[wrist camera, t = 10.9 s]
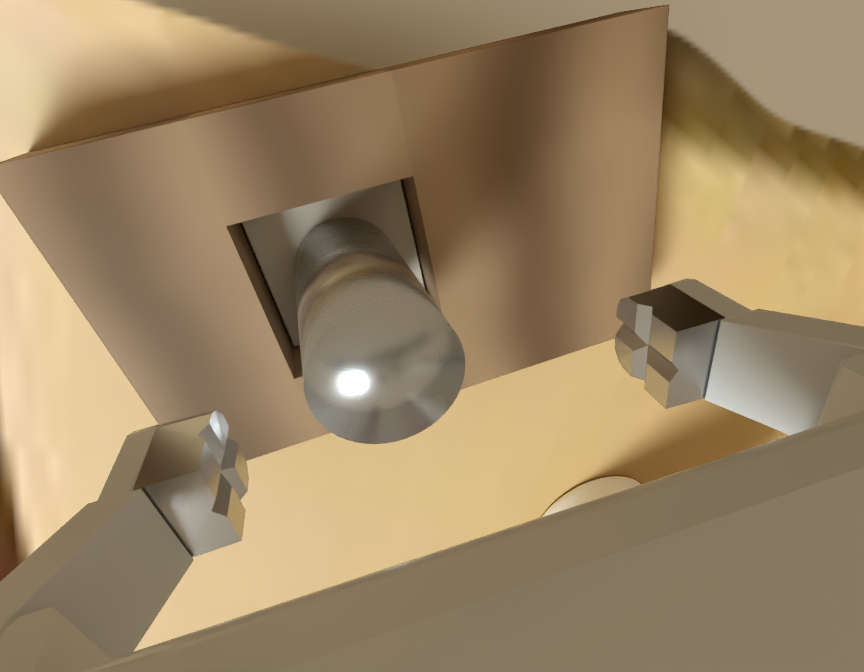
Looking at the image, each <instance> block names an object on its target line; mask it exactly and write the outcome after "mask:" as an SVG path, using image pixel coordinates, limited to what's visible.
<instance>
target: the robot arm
mask: <svg viewBox="0 0 864 672" xmlns="http://www.w3.org/2000/svg"><path fill="white" fill-rule="evenodd" d="M616 317H617V319H618V320H619V321H620V322H621V323H622V326H621V327H620V329H619V330H618V332H617V333H616V335H615V350H616V354H617V357H618V360H619V362H620V364H621V365H622V367H623V368H624V370H625V371H626V372H627V373H628V374H629V375H630V376H632V377H635V378H639V379H642V380H645V385H644V389H645V390H646V391H647V392H648V393H649V394H650V395H651V396H652V397H654V398H655V399H656V400H657V401H658V402H659V403H660V404H661V405H662V406H663V407H664V408H665V409H667V408H670V407H674V406H678V405H681V404H685V403H688V402H692V401H695V400H699V399H703V398H705V400H706V401H709V402H711V403H714V404H716V405H718V406H721V407H723V408H726V409H728V410H730V411H733V412H735V413H738V414H740V415H742V416H745V417H747V418H750V419H752V420H754V421H757V422H759V423H762V424H764V425H766V426H769V427H771V428H774V429H776V430H778V431H781V432H783V433H786V434H788V435H789V436H786V437H783V438H780V439H777V440H774V441H771V442H768V443H765V444H762V445H759V446H756V447H753V448H750V449H747V450H744V451H741V452H738V453H735V454H732V455H729V456H726V457H723V458H720V459H717V460H714V461H711V462H708V463H705V464H702V465H699V466H695V467H692V468H689V469H686V470H683V471H680V472H677V473H674V474H671V475H668V476H665V477H662V478H659V479H656V480H653V481H650V482H647V483H644V484H641V485H638V486H635V487H632V488H629V489H626V490H622V491H619V492H616V493H613V494H610V495H607V496H604V497H601V498H598V499H595V500H592V501H589V502H586V503H583V504H580V505H577V506H574V507H571V508H568V509H565V510H562V511H559V512H556V513H553V514H550V515H547V516H544V517H541V518H538V519H535V520H532V521H529V522H526V523H522V524H519V525H516V526H513V527H510V528H507V529H504V530H501V531H498V532H495V533H492V534H489V535H486V536H483V537H480V538H477V539H474V540H471V541H468V542H465V543H462V544H459V545H456V546H453V547H450V548H447V549H444V550H441V551H438V552H435V553H432V554H429V555H426V556H423V557H420V558H417V559H414V560H411V561H408V562H404V563H401V564H398V565H395V566H392V567H389V568H386V569H383V570H380V571H377V572H374V573H371V574H368V575H365V576H362V577H359V578H356V579H353V580H350V581H347V582H344V583H341V584H338V585H335V586H332V587H329V588H326V589H323V590H320V591H317V592H314V593H311V594H308V595H305V596H302V597H298V598H295V599H292V600H289V601H286V602H283V603H280V604H277V605H274V606H271V607H268V608H265V609H262V610H259V611H256V612H253V613H250V614H247V615H244V616H241V617H238V618H235V619H232V620H229V621H226V622H223V623H220V624H217V625H214V626H211V627H208V628H205V629H202V630H199V631H196V632H193V633H189V634H186V635H183V636H180V637H177V638H174V639H171V640H168V641H165V642H162V643H159V644H156V645H153V646H150V647H147V648H144V649H141V650H138V651H135V652H133V651H134V650H135V648H136V647H137V645H138V644H139V642H140V641H141V639H142V637H143V636H144V634H145V633H146V631H147V630H148V628H149V627H150V625H151V624H152V622H153V621H154V619H155V618H156V616H157V615H158V613H159V612H160V610H161V609H162V607H163V606H164V604H165V603H166V601H167V599H168V598H169V596H170V595H171V593H172V592H173V590H174V589H175V587H176V586H177V584H178V583H179V581H180V580H181V578H182V577H183V575H184V574H185V572H186V571H187V569H188V568H189V566H190V564H191V563H192V561H193V558H192V557H195V556H198V555H201V554H204V553H207V552H210V551H213V550H216V549H219V548H222V547H224V546H227V545H230V544H233V543H236V542H239V541H242V535H243V526H244V518H245V508H244V507H243V505H242V503H241V501H240V500H241V498H242V497H243V496H244V495H245V493H246V492H247V491H248V480H249V477H248V469H247V463H246V460H245V457H244V454H243V451H242V449H241V448H240V446H239V444H238V443H237V442H235V441H233V440H231V439H229V438H227V435H228V429H229V425H228V423H227V422H226V420H225V418H224V416H223V415H222V413H221V412H219V411H217V410H214V411H210V412H206V413H202V414H198V415H194V416H190V417H187V418H183V419H179V420H175V421H171V422H167V423H163V424H161V425H155V426H152V427H148V428H144V429H141V430H137V431H134V432H132V433H131V434H129V435H127V437H126V439H125V441H124V443H123V446H122V448H121V450H120V452H119V454H118V457H117V459H116V461H115V463H114V465H113V468H112V470H111V472H110V474H109V476H108V479H107V481H106V483H105V485H104V488H103V490H102V492H101V494H100V496H99V499H98V501H96V502H92V503H89V504H87V505H86V506H85V507H84V508H83V509H81V510H80V511H79V512H78V513H77V514H76V515H75V516H74V517H72V518H71V519H70V520H69V521H68V522H67V523H66V524H65V525H64V526H62V527H61V528H60V529H59V530H58V531H57V532H56V533H55V534H53V535H52V536H51V537H50V538H49V539H48V540H47V541H46V542H44V543H43V544H42V545H41V546H40V547H39V548H38V549H37V550H36V551H34V552H33V553H32V554H31V555H30V556H29V557H28V558H27V559H25V560H24V561H23V562H22V563H21V564H20V565H19V566H18V567H16V568H15V569H14V570H13V571H12V572H11V573H10V574H9V575H8V576H6V577H5V578H4V579H3V580H2V581H1V582H0V672H864V327H862V326H856V325H851V324H845V323H839V322H833V321H827V320H821V319H815V318H809V317H803V316H798V315H792V314H786V313H780V312H774V311H768V310H762V309H757V310H753V311H751V310H750V309H748V308H746V307H744V306H742V305H740V304H739V303H737V302H735V301H733V300H731V299H730V298H728V297H726V296H724V295H722V294H721V293H719V292H717V291H715V290H713V289H712V288H710V287H708V286H706V285H704V284H703V283H701V282H699V281H697V280H695V279H684V280H681V281H677V282H674V283H671V284H668V285H665V286H663V287H659V288H656V289H653V290H649V291H646V292H642V293H639V294H636V295H632V296H629V297H625V298H622V299H620V301H619V303H618V305H617V314H616Z"/></svg>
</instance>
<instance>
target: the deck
mask: <svg viewBox="0 0 864 672" xmlns="http://www.w3.org/2000/svg"><path fill="white" fill-rule="evenodd" d="M668 14H669V5H663V6H657V7H650V8H643V9H637V10H630V11H624V12H619V13H614V14H611V15H607V16H602V17H598V18H593V19H589V20H585V21H581V22H577V23H573V24H568V25H564V26H560V27H556V28H551V29H548V30H543V31H539V32H534V33H530V34H526V35H522V36H518V37H513V38H510V39H505V40H501V41H497V42H492V43H488V44H484V45H480V46H475V47H471V48H467V49H463V50H459V51H454V52H451V53H446V54H442V55H438V56H433V57H429V58H425V59H421V60H416V61H412V62H408V63H404V64H400V65H396V66H391V67H387V68H383V69H378V70H374V71H370V72H366V73H362V74H357V75H353V76H349V77H345V78H341V79H336V80H332V81H328V82H324V83H319V84H315V85H311V86H307V87H303V88H298V89H294V90H290V91H286V92H282V93H277V94H273V95H269V96H265V97H260V98H256V99H252V100H248V101H244V102H239V103H235V104H231V105H227V106H223V107H218V108H214V109H210V110H206V111H201V112H197V113H193V114H189V115H185V116H180V117H176V118H172V119H168V120H164V121H159V122H155V123H151V124H147V125H142V126H138V127H134V128H130V129H126V130H121V131H117V132H113V133H109V134H105V135H100V136H96V137H92V138H88V139H83V140H79V141H75V142H71V143H67V144H62V145H58V146H54V147H50V148H46V149H41V150H37V151H33V152H29V153H25V154H22V155H19V156H17V157H14V158H11V159H8V160H5V161H2V162H0V194H1V195H2V197H3V198H4V200H5V201H6V203H7V204H8V206H9V207H10V208H11V210H12V211H13V213H14V214H15V216H16V217H17V219H18V220H19V222H20V223H21V225H22V226H23V227H24V229H25V230H26V232H27V233H28V235H29V236H30V238H31V239H32V241H33V242H34V243H35V245H36V246H37V248H38V249H39V251H40V252H41V254H42V255H43V257H44V258H45V259H46V261H47V262H48V264H49V265H50V267H51V268H52V270H53V271H54V273H55V274H56V275H57V277H58V278H59V280H60V281H61V283H62V284H63V286H64V287H65V289H66V290H67V291H68V293H69V294H70V296H71V297H72V299H73V300H74V302H75V303H76V305H77V306H78V307H79V309H80V310H81V312H82V313H83V315H84V316H85V318H86V319H87V321H88V322H89V323H90V325H91V326H92V328H93V329H94V331H95V332H96V334H97V335H98V337H99V338H100V339H101V341H102V342H103V344H104V345H105V347H106V348H107V350H108V351H109V353H110V354H111V356H112V357H113V358H114V360H115V361H116V363H117V364H118V366H119V367H120V369H121V370H122V372H123V373H124V374H125V376H126V377H127V379H128V380H129V382H130V383H131V385H132V386H133V388H134V389H135V390H136V392H137V393H138V395H139V396H140V398H141V399H142V401H143V402H144V404H145V405H146V406H147V408H148V409H149V411H150V412H151V414H152V415H153V417H154V418H155V420H156V421H157V422H158V424H159V425H161V424H163V423H167V422H171V421H175V420H179V419H183V418H187V417H190V416H194V415H198V414H202V413H206V412H210V411H214V410H217V411H219V412H221V413H222V415H223V416H224V418H225V420H226V422H227V423H228V425H229V429H228V435H227V438H229V439H231V440H233V441H235V442H237V443H238V444H239V446H240V448H241V449H242V451H243V454H244V457H245V460H246V461H247V460H250V459H253V458H256V457H259V456H262V455H265V454H268V453H271V452H274V451H277V450H280V449H283V448H286V447H289V446H292V445H295V444H298V443H301V442H304V441H307V440H310V439H313V438H316V437H319V436H322V435H325V434H328V433H331V432H330V431H329V430H327V429H326V428H325V427H324V426H322V424H321V423H320V422H319V421H318V420H317V419H316V418H315V416H314V415H313V414H312V412H311V410H310V408H309V406H308V404H307V401H306V398H305V393H304V385H303V374H302V362H301V351H300V340H299V328H298V317H297V306H296V294H295V283H294V272H293V263H294V257H295V253H296V250H297V248H298V246H299V244H300V242H301V241H302V239H303V238H304V237H305V236H306V234H307V233H308V232H310V231H311V230H312V229H313V228H314V227H316V226H317V225H319V224H321V223H323V222H325V221H328V220H331V219H335V218H342V217H350V218H357V219H362V220H365V221H367V222H369V223H371V224H373V225H375V226H376V227H378V228H379V229H380V230H381V231H383V232H384V233H385V235H386V236H387V237H388V238H389V239H390V241H391V242H392V244H393V245H394V247H395V248H396V249H397V251H398V252H399V254H400V255H401V256H402V258H403V259H404V261H405V262H406V263H407V265H408V266H409V268H410V269H411V270H412V272H413V273H414V275H415V276H416V277H417V279H418V280H419V282H420V283H421V284H422V286H423V287H424V283H423V279H422V274H421V270H420V265H419V261H418V256H417V252H416V248H415V243H414V239H413V234H412V230H411V225H410V221H409V216H408V212H407V208H406V203H405V199H404V194H403V190H402V185H401V181H400V179H402V183H403V188H404V192H405V197H406V201H407V206H408V210H409V215H410V219H411V224H412V228H413V233H414V237H415V242H416V246H417V251H418V255H419V260H420V264H421V268H422V273H423V277H424V282H425V286H426V291H427V293H428V294H429V296H430V297H431V298H432V300H433V301H434V303H435V304H436V305H437V307H438V308H439V310H440V311H441V313H442V314H443V315H444V317H445V318H446V320H447V321H448V322H449V324H450V325H451V327H452V328H453V329H454V331H455V332H456V334H457V336H458V337H459V339H460V341H461V344H462V346H463V350H464V354H465V375H464V380H463V383H462V386H461V389H464V388H467V387H470V386H473V385H476V384H479V383H482V382H485V381H488V380H491V379H494V378H497V377H500V376H503V375H506V374H509V373H512V372H515V371H518V370H521V369H524V368H527V367H530V366H533V365H536V364H539V363H542V362H545V361H548V360H551V359H554V358H557V357H560V356H563V355H566V354H569V353H572V352H575V351H578V350H581V349H584V348H587V347H590V346H593V345H596V344H599V343H602V342H605V341H608V340H611V339H614V338H615V335H616V333H617V332H618V330H619V329H620V327H621V326H622V323H621V322H620V321H619V320H618V319H617V317H616V314H617V305H618V303H619V301H620V299H622V298H625V297H629V296H632V295H636V294H639V293H642V292H646V291H649V290H650V289H651V274H652V259H653V243H654V228H655V213H656V198H657V182H658V167H659V152H660V136H661V121H662V106H663V91H664V75H665V60H666V45H667V29H668ZM241 222H242V223H243V226H244V228H245V231H246V233H247V235H248V238H249V240H250V242H251V245H252V247H253V249H254V252H255V254H256V256H257V259H258V261H259V264H260V266H261V268H262V271H263V273H264V275H265V278H266V280H267V282H268V285H269V287H270V290H271V292H272V294H273V297H274V299H275V301H276V304H277V306H278V308H279V311H280V313H281V315H282V318H283V320H284V323H285V325H286V327H287V330H288V332H289V334H290V337H291V339H292V341H293V344H294V345H293V344H292V342H291V340H290V337H289V335H288V333H287V330H286V328H285V326H284V323H283V321H282V319H281V316H280V314H279V312H278V309H277V307H276V304H275V302H274V300H273V297H272V295H271V293H270V290H269V288H268V286H267V283H266V281H265V279H264V276H263V274H262V272H261V269H260V267H259V265H258V262H257V260H256V258H255V255H254V253H253V250H252V248H251V246H250V243H249V241H248V239H247V236H246V234H245V232H244V229H243V227H242V225H241ZM424 289H425V288H424ZM461 389H460V390H461Z"/></svg>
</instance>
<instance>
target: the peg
mask: <svg viewBox="0 0 864 672" xmlns="http://www.w3.org/2000/svg"><path fill="white" fill-rule="evenodd" d="M293 272H294V283H295V294H296V306H297V317H298V328H299V340H300V351H301V362H302V374H303V385H304V393H305V398H306V401H307V404H308V406H309V408H310V410H311V412H312V414H313V415H314V416H315V418H316V419H317V420H318V421H319V422H320V423H321V424H322V426H324V427H325V428H326V429H327V430H329V431H330V432H332V433H334V434H335V435H337V436H339V437H342V438H344V439H347V440H350V441H354V442H358V443H366V444H381V443H389V442H395V441H399V440H402V439H405V438H408V437H410V436H413V435H415V434H417V433H419V432H421V431H423V430H425V429H426V428H428V427H429V426H431V425H432V424H433V423H435V422H436V421H437V420H438V419H439V418H440V417H441V416H442V415H443V414H444V413H445V412H446V411H447V410H448V409H449V408H450V406H451V405H452V404H453V402H454V400H455V399H456V397H457V395H458V393H459V391H460V389H461V386H462V383H463V380H464V375H465V354H464V350H463V346H462V344H461V341H460V339H459V337H458V336H457V334H456V332H455V331H454V329H453V328H452V327H451V325H450V324H449V322H448V321H447V320H446V318H445V317H444V315H443V314H442V313H441V311H440V310H439V308H438V307H437V305H436V304H435V303H434V301H433V300H432V298H431V297H430V296H429V294H428V293H427V291H426V290H425V289H424V287H423V286H422V284H421V283H420V282H419V280H418V279H417V277H416V276H415V275H414V273H413V272H412V270H411V269H410V268H409V266H408V265H407V263H406V262H405V261H404V259H403V258H402V256H401V255H400V254H399V252H398V251H397V249H396V248H395V247H394V245H393V244H392V242H391V241H390V239H389V238H388V237H387V236H386V235H385V233H384V232H383V231H381V230H380V229H379V228H378V227H376V226H375V225H373V224H371V223H369V222H367V221H365V220H362V219H357V218H350V217H342V218H335V219H331V220H328V221H325V222H323V223H321V224H319V225H317V226H316V227H314V228H313V229H312V230H311V231H310V232H308V233H307V234H306V236H305V237H304V238H303V239H302V241H301V242H300V244H299V246H298V248H297V250H296V253H295V257H294V263H293Z"/></svg>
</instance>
